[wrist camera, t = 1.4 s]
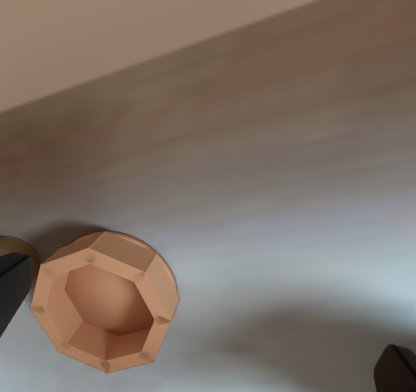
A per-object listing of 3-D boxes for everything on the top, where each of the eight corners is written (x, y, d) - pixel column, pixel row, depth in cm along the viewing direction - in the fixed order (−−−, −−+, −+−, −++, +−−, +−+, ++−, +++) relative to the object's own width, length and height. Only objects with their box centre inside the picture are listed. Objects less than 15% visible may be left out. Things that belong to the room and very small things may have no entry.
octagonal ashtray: (155, 356, 27) (142, 389, 24) (46, 310, 27) (21, 337, 24) (196, 263, 24) (187, 288, 21) (73, 210, 24) (47, 228, 21)
